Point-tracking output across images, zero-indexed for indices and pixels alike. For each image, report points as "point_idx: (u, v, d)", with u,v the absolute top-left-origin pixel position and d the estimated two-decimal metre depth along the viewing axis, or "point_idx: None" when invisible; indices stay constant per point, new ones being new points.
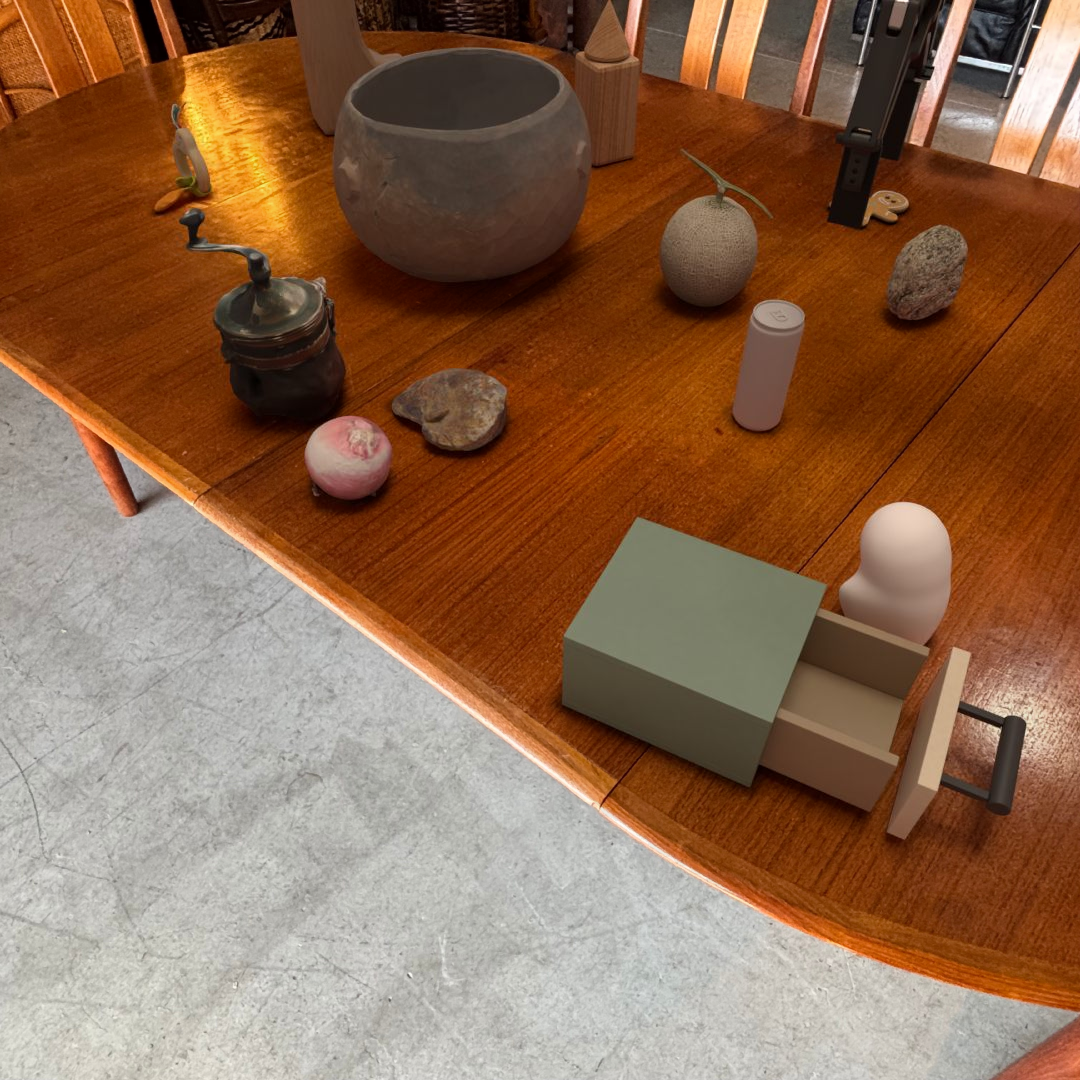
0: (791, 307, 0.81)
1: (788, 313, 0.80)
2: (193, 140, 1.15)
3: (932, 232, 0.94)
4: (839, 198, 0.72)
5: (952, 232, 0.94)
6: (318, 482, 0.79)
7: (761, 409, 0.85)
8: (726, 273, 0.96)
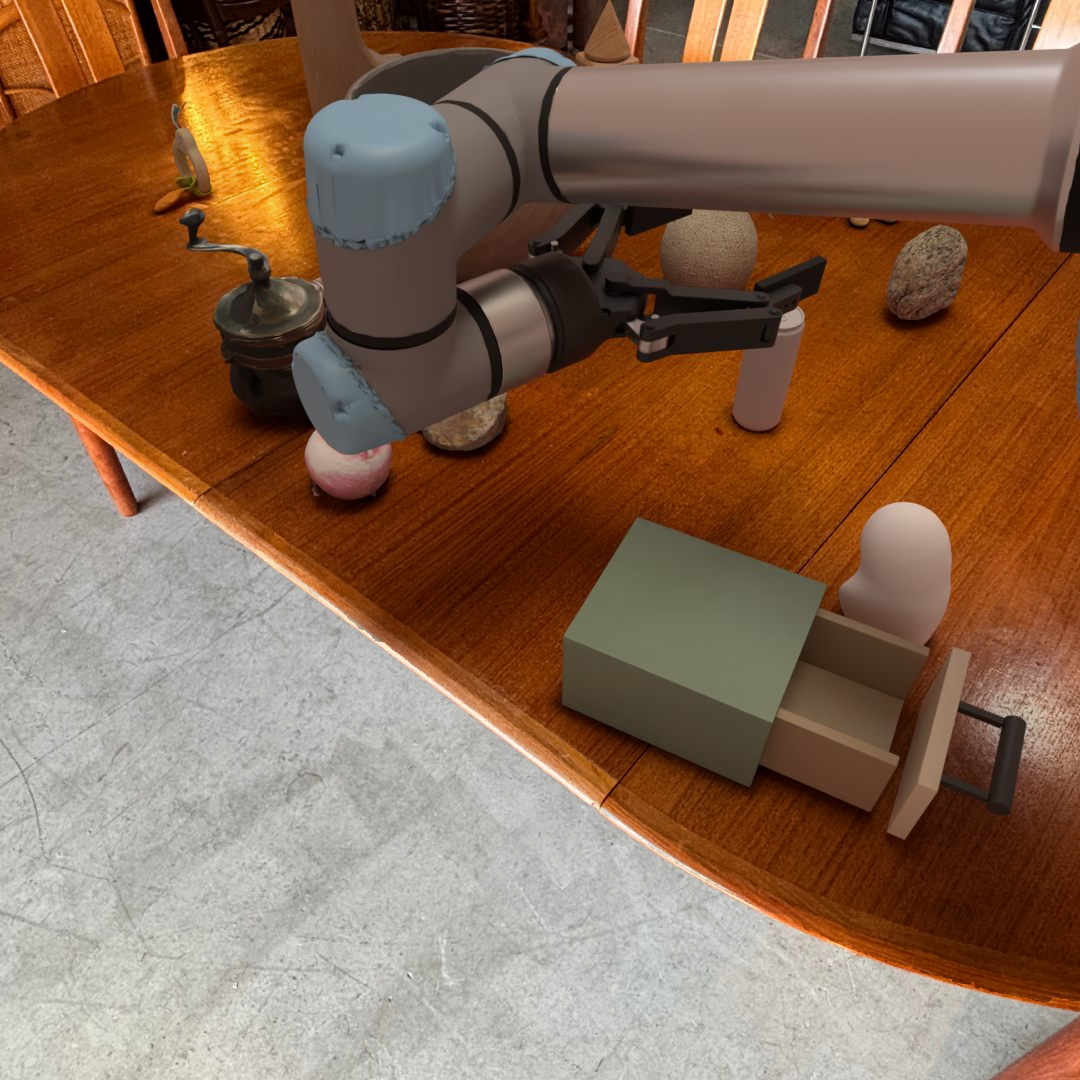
0: None
1: (788, 313, 0.80)
2: (193, 140, 1.15)
3: (932, 232, 0.94)
4: None
5: (952, 232, 0.94)
6: (318, 482, 0.79)
7: (761, 409, 0.85)
8: (726, 273, 0.96)
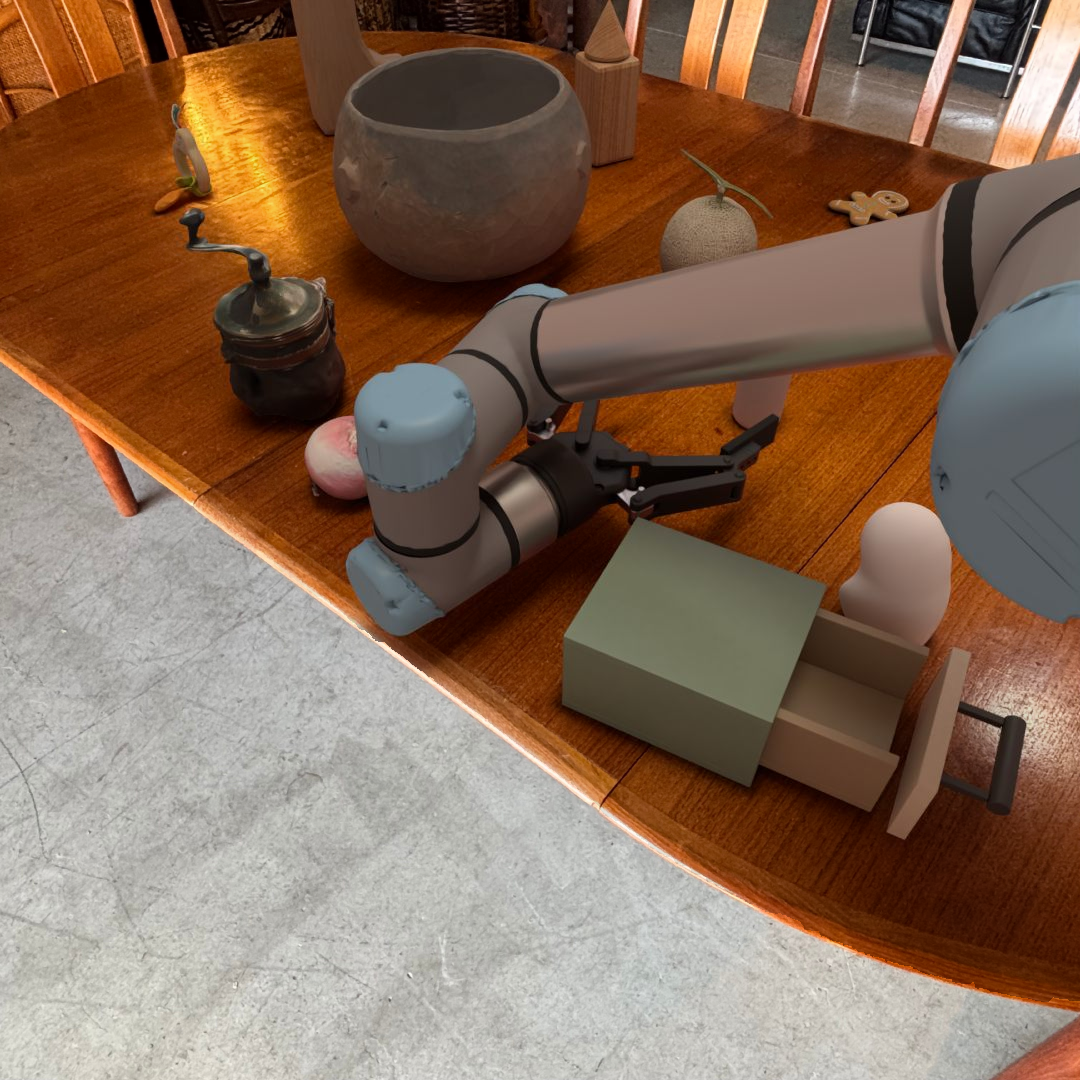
0: None
1: None
2: (193, 140, 1.15)
3: None
4: None
5: None
6: (318, 482, 0.79)
7: (761, 409, 0.85)
8: None
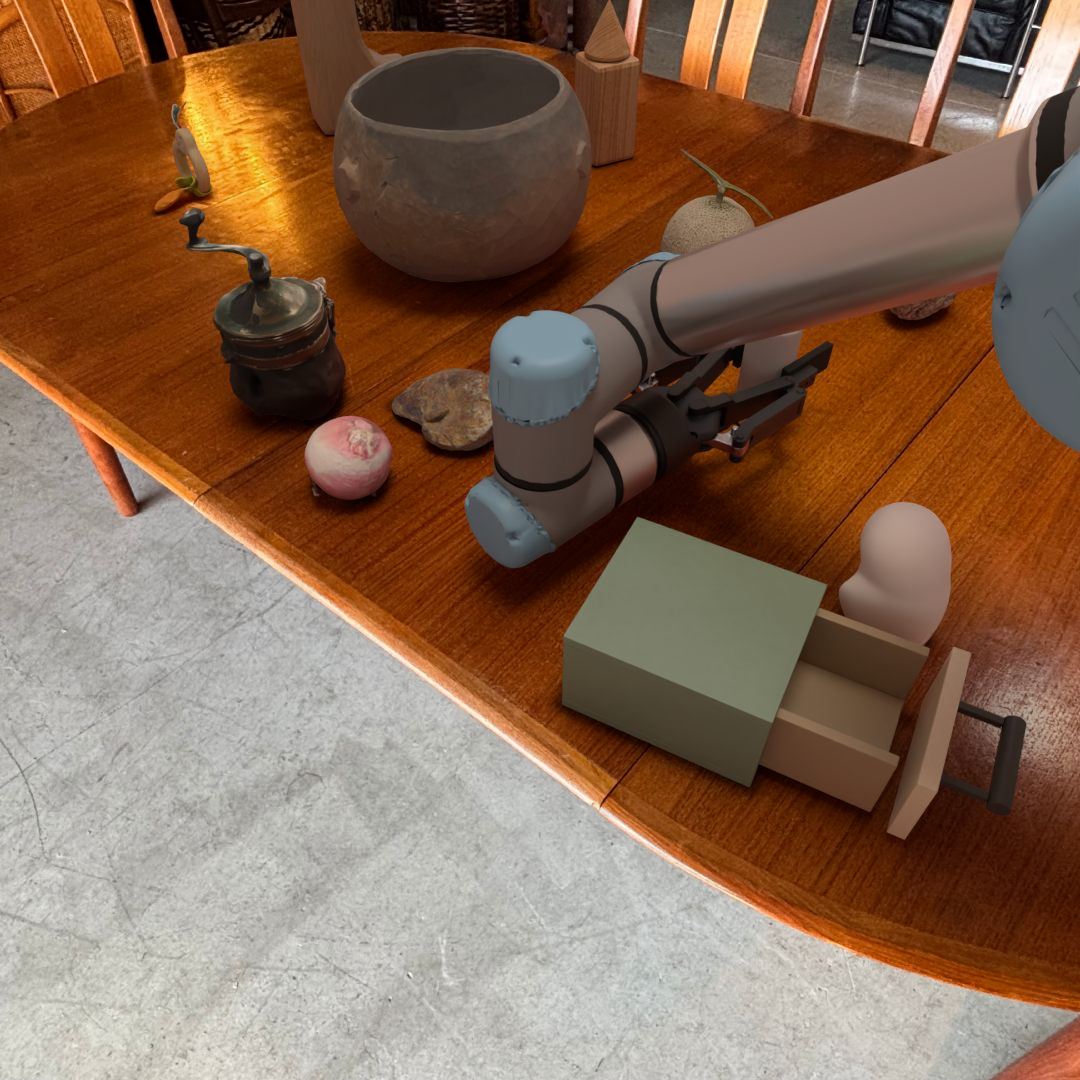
0: None
1: None
2: (193, 140, 1.15)
3: None
4: None
5: None
6: (318, 482, 0.79)
7: None
8: None
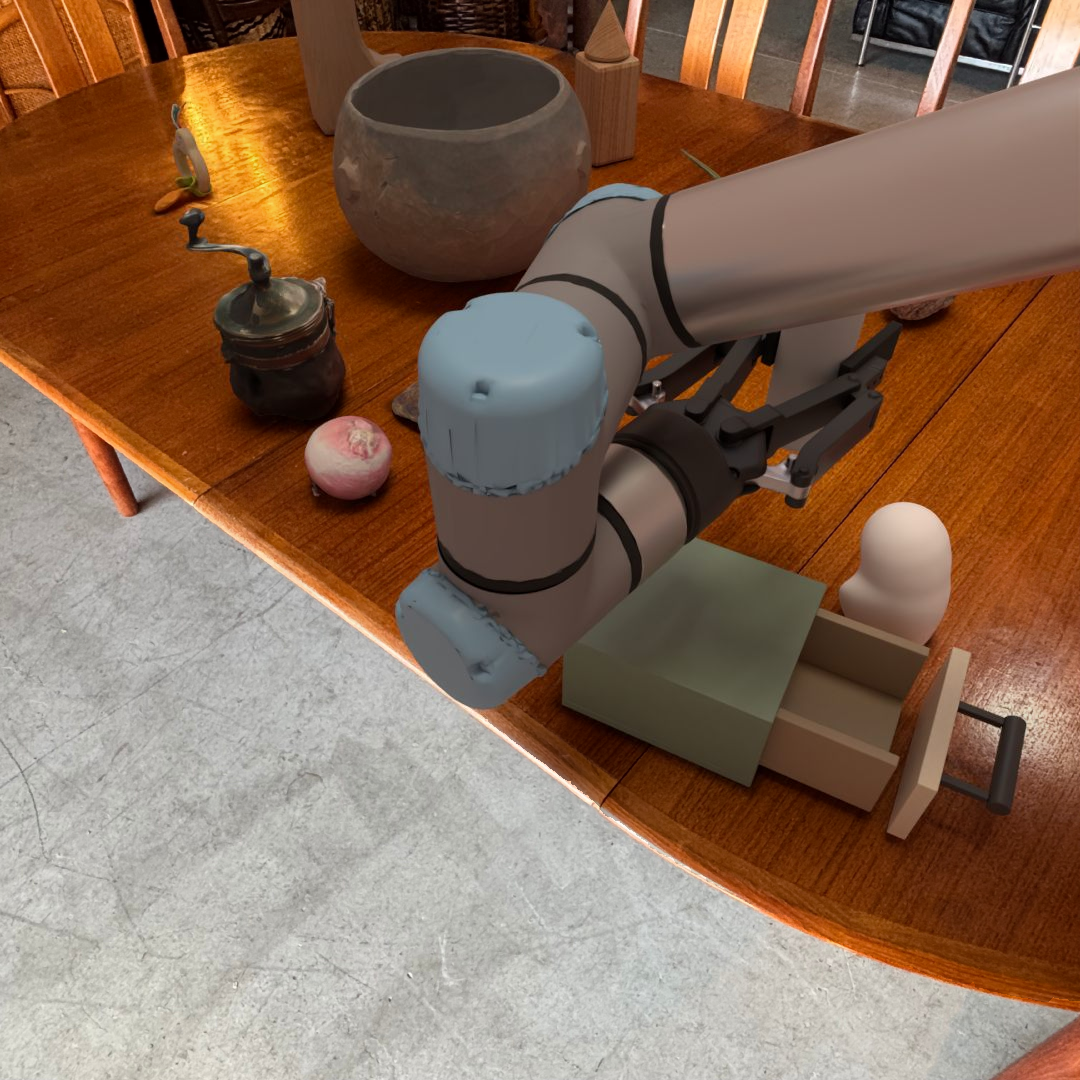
0: None
1: None
2: (193, 140, 1.15)
3: None
4: None
5: None
6: (318, 482, 0.79)
7: None
8: None
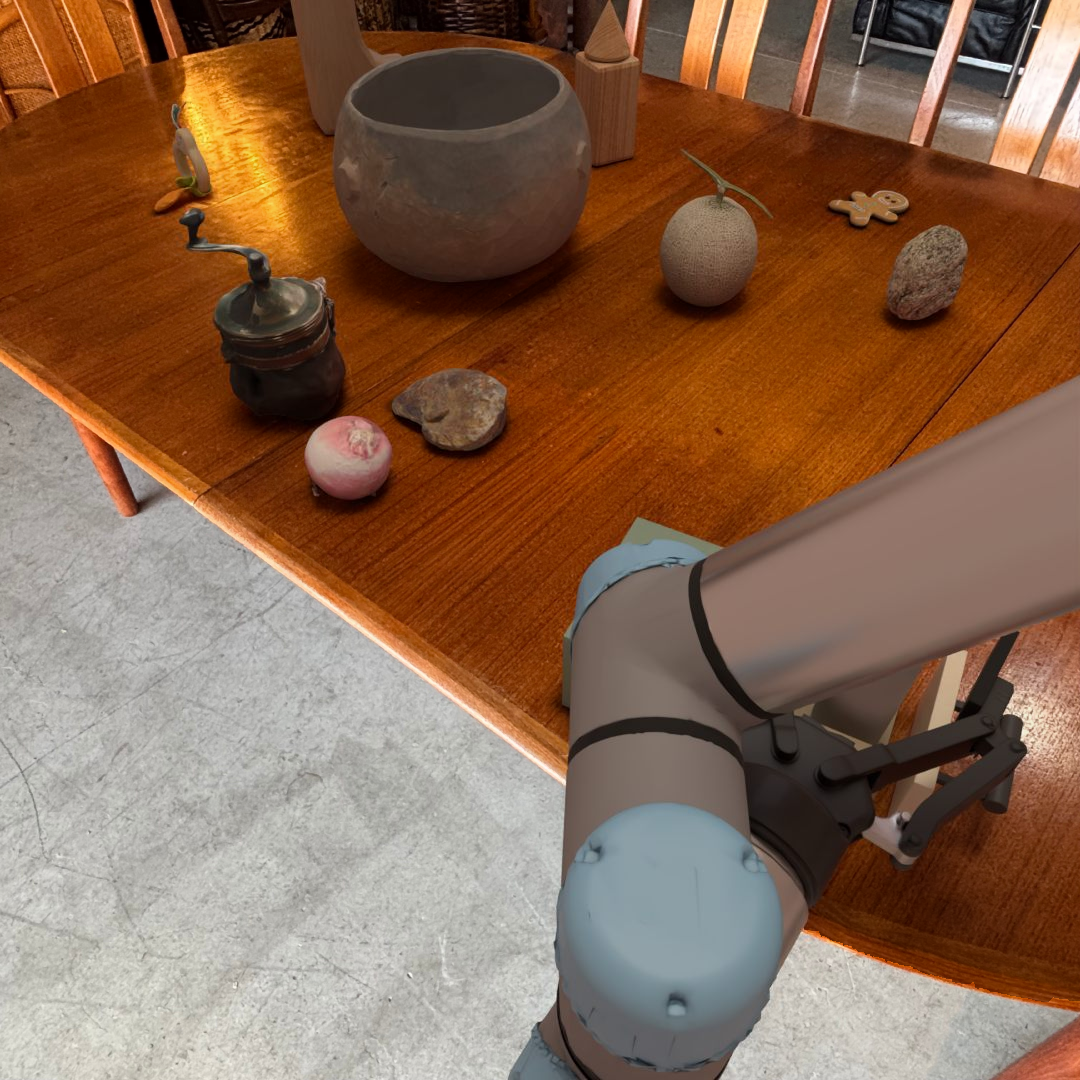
0: None
1: None
2: (193, 140, 1.15)
3: (932, 232, 0.94)
4: None
5: (952, 232, 0.94)
6: (318, 482, 0.79)
7: (865, 737, 0.59)
8: (726, 273, 0.96)
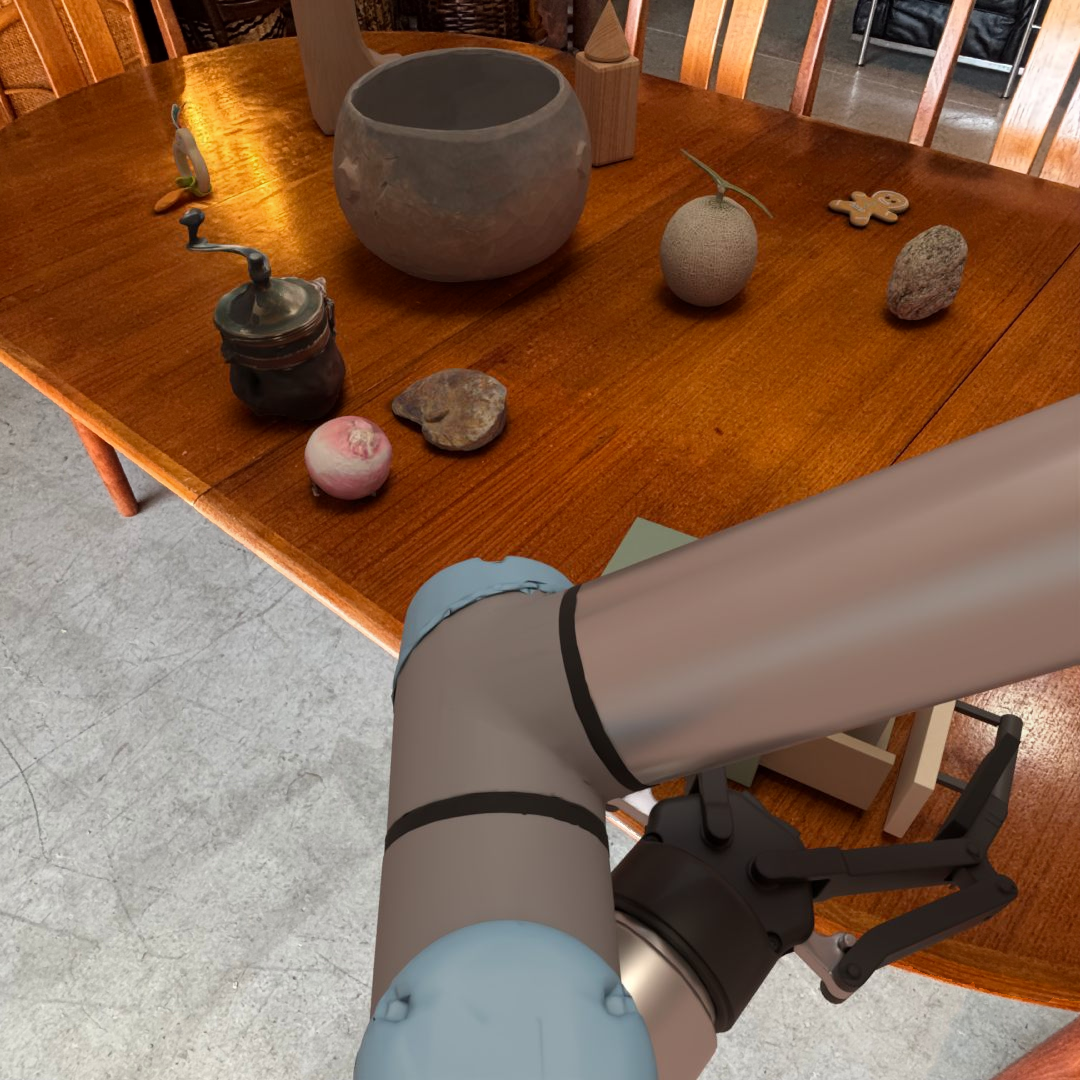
0: None
1: None
2: (193, 140, 1.15)
3: (932, 232, 0.94)
4: None
5: (952, 232, 0.94)
6: (318, 482, 0.79)
7: (864, 736, 0.59)
8: (726, 273, 0.96)
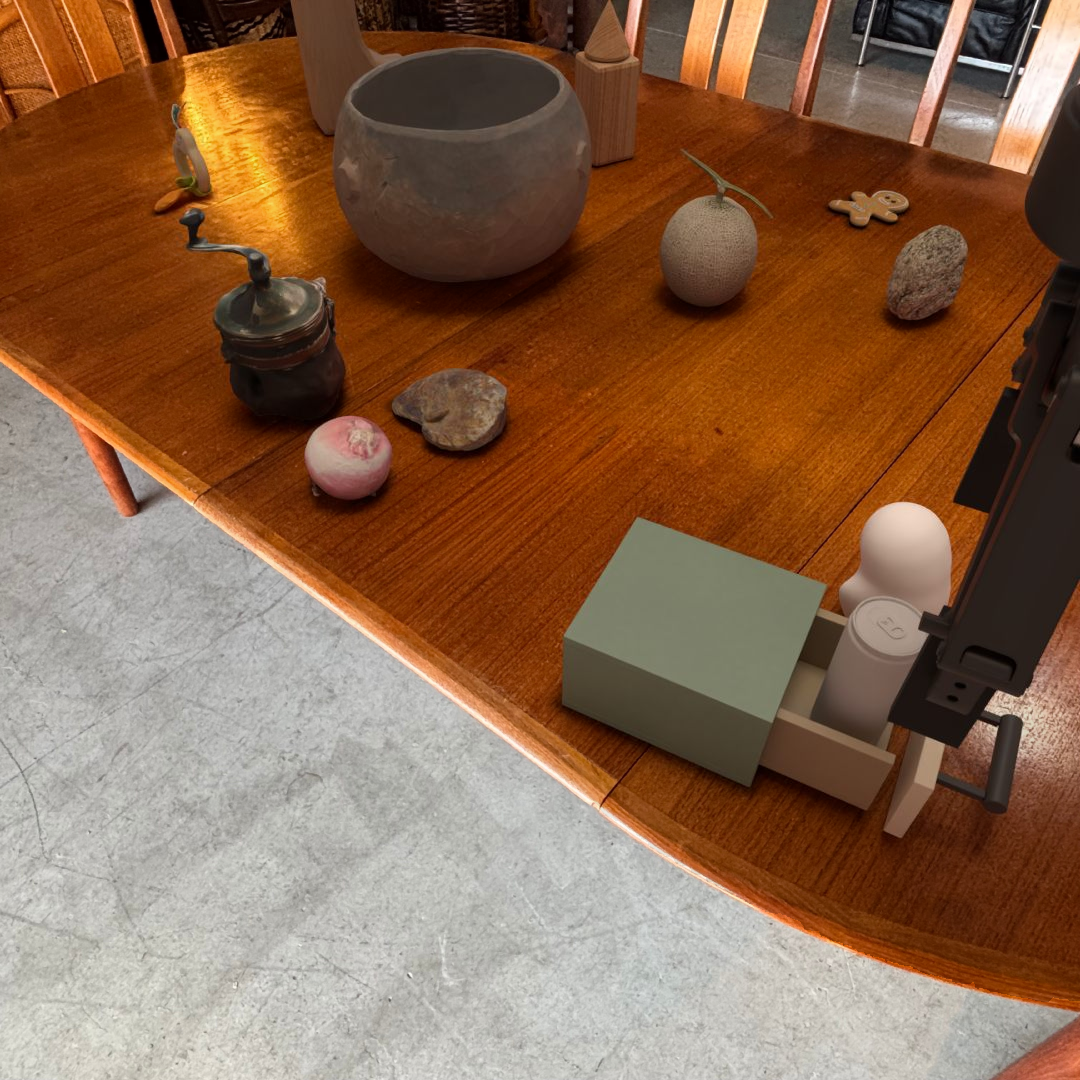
0: (902, 607, 0.55)
1: (903, 621, 0.55)
2: (193, 140, 1.15)
3: (932, 232, 0.94)
4: (917, 696, 0.34)
5: (952, 232, 0.94)
6: (318, 482, 0.79)
7: (864, 736, 0.59)
8: (726, 273, 0.96)
